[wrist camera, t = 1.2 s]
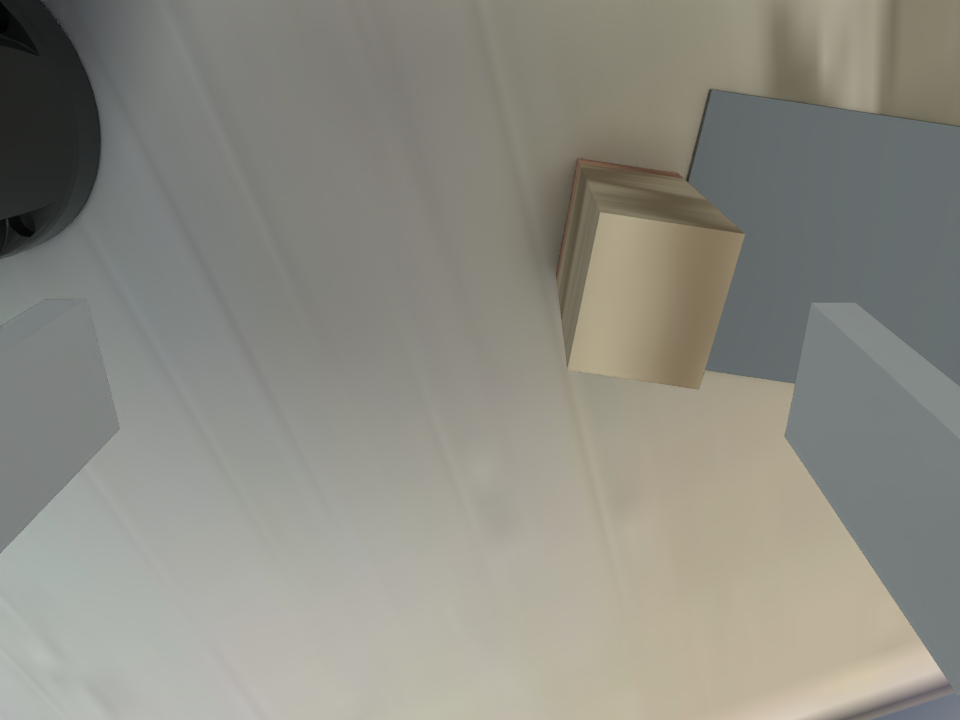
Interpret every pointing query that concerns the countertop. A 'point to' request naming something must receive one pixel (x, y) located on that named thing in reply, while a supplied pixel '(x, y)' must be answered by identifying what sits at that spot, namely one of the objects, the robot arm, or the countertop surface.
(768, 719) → the countertop surface
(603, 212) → the oak block
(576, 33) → the countertop surface
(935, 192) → the mat
